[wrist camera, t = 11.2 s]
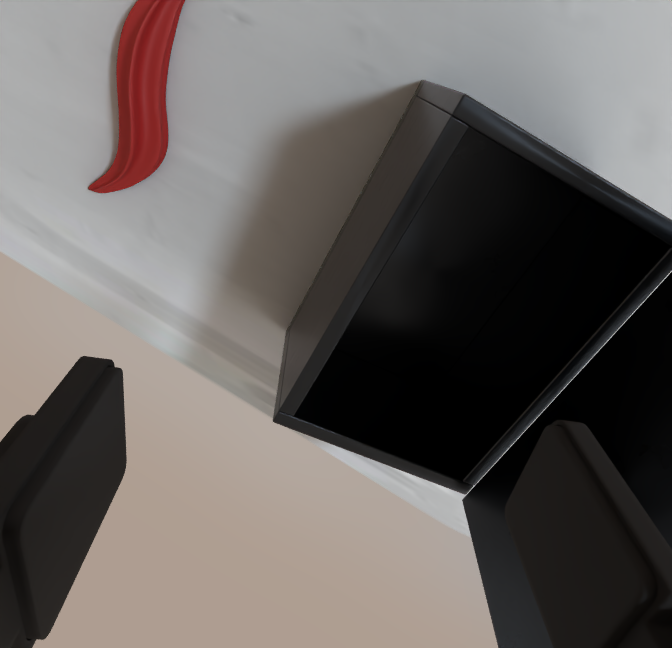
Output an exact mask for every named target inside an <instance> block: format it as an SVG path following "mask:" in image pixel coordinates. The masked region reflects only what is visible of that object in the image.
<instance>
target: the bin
mask: <svg viewBox="0 0 672 648" xmlns="http://www.w3.org/2000/svg"><path fill="white" fill-rule="evenodd" d="M671 270H672V220H671V219H669V218H667V217H666V216H664V215H662V214H661V213H659V212H658V211H656V210H654V209H653V208H651V207H649V206H648V205H646V204H644V203H643V202H641V201H640V200H638V199H636V198H635V197H633V196H631V195H630V194H628V193H627V192H625V191H623V190H622V189H620V188H618V187H617V186H615V185H613V184H612V183H610V182H609V181H607V180H605V179H604V178H602V177H600V176H599V175H597V174H595V173H594V172H592V171H591V170H589V169H587V168H586V167H584V166H582V165H581V164H579V163H578V162H576V161H574V160H573V159H571V158H569V157H568V156H566V155H564V154H563V153H561V152H560V151H558V150H556V149H555V148H553V147H551V146H550V145H548V144H546V143H545V142H543V141H542V140H540V139H538V138H537V137H535V136H533V135H532V134H530V133H529V132H527V131H525V130H524V129H522V128H520V127H519V126H517V125H515V124H514V123H512V122H511V121H509V120H507V119H506V118H504V117H502V116H501V115H499V114H497V113H496V112H494V111H493V110H491V109H489V108H488V107H486V106H484V105H483V104H481V103H480V102H478V101H476V100H475V99H473V98H471V97H470V96H468V95H466V94H464V93H461V92H458V91H455V90H452V89H449V88H446V87H443V86H440V85H437V84H434V83H431V82H429V81H426V80H422V81H421V83H420V85H419V87H418V88H417V90H416V92H415V94H414V96H413V98H412V100H411V101H410V103H409V105H408V107H407V109H406V111H405V113H404V114H403V116H402V118H401V120H400V122H399V124H398V126H397V127H396V129H395V131H394V133H393V135H392V137H391V138H390V140H389V142H388V144H387V146H386V148H385V150H384V151H383V153H382V155H381V157H380V159H379V161H378V163H377V164H376V166H375V168H374V170H373V172H372V174H371V176H370V177H369V179H368V181H367V183H366V185H365V187H364V188H363V190H362V192H361V194H360V196H359V198H358V200H357V201H356V203H355V205H354V207H353V209H352V211H351V213H350V214H349V216H348V218H347V220H346V222H345V224H344V226H343V227H342V229H341V231H340V233H339V235H338V237H337V238H336V240H335V242H334V244H333V246H332V248H331V250H330V251H329V253H328V255H327V257H326V259H325V261H324V263H323V264H322V266H321V268H320V270H319V272H318V274H317V276H316V277H315V279H314V281H313V283H312V285H311V287H310V288H309V290H308V292H307V294H306V296H305V298H304V300H303V301H302V303H301V305H300V307H299V309H298V311H297V313H296V314H295V316H294V318H293V320H292V322H291V324H290V326H289V327H288V329H287V331H286V336H285V343H284V350H283V356H282V363H281V370H280V376H279V383H278V390H277V396H276V403H275V410H274V416H273V422H275V423H277V424H280V425H282V426H285V427H288V428H290V429H293V430H296V431H298V432H301V433H303V434H306V435H309V436H311V437H314V438H317V439H319V440H322V441H325V442H327V443H330V444H333V445H335V446H338V447H341V448H343V449H346V450H348V451H351V452H354V453H356V454H359V455H362V456H364V457H367V458H370V459H372V460H375V461H378V462H380V463H383V464H386V465H388V466H391V467H393V468H396V469H399V470H401V471H404V472H407V473H409V474H412V475H415V476H417V477H420V478H423V479H425V480H428V481H430V482H433V483H436V484H438V485H441V486H444V487H446V488H449V489H452V490H454V491H457V492H460V493H462V494H467V493H468V492H469V490H470V489H471V488H472V487H473V485H475V484H476V483H477V482H478V481H479V480H480V479H481V478H482V476H483V475H484V474H485V473H486V472H487V471H488V470H489V469H490V468H491V467H492V466H493V464H494V463H495V462H496V461H497V460H498V459H499V458H500V457H501V456H502V455H503V454H504V452H505V451H506V450H507V449H508V448H509V447H510V446H511V445H512V444H513V443H514V442H515V440H516V439H517V438H518V437H519V436H520V435H521V434H522V433H523V432H524V431H525V430H526V428H527V427H528V426H529V425H530V424H531V423H532V422H533V421H534V420H535V419H536V418H537V417H538V415H539V414H540V413H541V412H542V411H543V410H544V409H545V408H546V407H547V406H548V405H549V403H550V402H551V401H552V400H553V399H554V398H555V397H556V396H557V395H558V394H559V393H560V391H561V390H562V389H563V388H564V387H565V386H566V385H567V384H568V383H569V382H570V381H571V379H572V378H573V377H574V376H575V375H576V374H577V373H578V372H579V371H580V370H581V369H582V367H583V366H584V365H585V364H586V363H587V362H588V361H589V360H590V359H591V358H592V357H593V355H594V354H595V353H596V352H597V351H598V350H599V349H600V348H601V347H602V346H603V345H604V343H605V342H606V341H607V340H608V339H609V338H610V337H611V336H612V335H613V334H614V333H615V331H616V330H617V329H618V328H619V327H620V326H621V325H622V324H623V323H624V322H625V321H626V320H627V318H628V317H629V316H630V315H631V314H632V313H633V312H634V311H635V310H636V309H637V308H638V306H639V305H640V304H641V303H642V302H643V301H644V300H645V299H646V298H647V297H648V296H649V294H650V293H651V292H652V291H653V290H654V289H655V288H656V287H657V286H658V285H659V284H660V282H661V281H662V280H663V279H664V278H665V277H666V276H667V275H668V274H669V273H670V272H671Z"/></svg>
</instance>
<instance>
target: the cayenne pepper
mask: <svg viewBox="0 0 672 648" xmlns="http://www.w3.org/2000/svg"><path fill="white" fill-rule="evenodd" d="M184 2H185V0H138V1H137V2H136V4H135V5H134V7H133V8H132V9H131V11H130V13H129V15H128V17H127V19H126V21H125V23H124V26H123V29H122V33H121V38H120V43H119V49H118V56H117V93H118V107H119V144H118V151H117V154H116V158H115V160H114V163H113V165H112V166H111V168H110V169H109V170H108V171H107V173H106V174H104V175H103V176H102V177H101V178H99V179H98V180H97V181H95V182H94V183H93V184H91V185H90V186H89V188H88V189H89V190H92V191H94V192H98V193H109V192H113V191H118V190H122V189H125V188H128V187H131V186H133V185H135V184H137V183H139V182H141V181H142V180H144V179H146V178H147V177H148V176H150V175H151V174H152V173H153V172H154V171H155V170H156V169H157V168H158V167H159V166H160V164H161V163H162V161H163V159H164V157H165V155H166V152H167V147H168V124H167V114H166V83H167V74H168V66H169V59H170V53H171V49H172V44H173V40H174V36H175V32H176V28H177V24H178V20H179V16H180V12H181V9H182V6H183V4H184Z"/></svg>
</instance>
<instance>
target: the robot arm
mask: <svg viewBox="0 0 672 648" xmlns="http://www.w3.org/2000/svg"><path fill="white" fill-rule="evenodd" d="M125 469H126V437H125V414H124V391H123V372H122V369H121V368H117V367H114V362H113V361H112V360H110V359H102V358H94V357H87V356H83V357H81V358H80V359H79V360H78V361H77V362H76V363H75V365H74V366H73V367H72V369H71V370H70V371H69V372H68V374H67V375H66V376H65V377H64V379H63V380H62V381H61V382H60V384H59V385H58V386H57V387H56V389H55V390H54V391H53V393H52V394H51V395H50V396H49V398H48V399H47V400H46V401H45V403H44V404H43V405H42V406H41V408H40V409H39V410H38V412H37V413H36V414H35V415H26V416H23V417H22V418H21V419H20V420H19V421H17V422H16V424H15V425H14V426H13V427H12V428H11V430H10V431H9V432H8V433H7V434H6V436H5V437H4V438H3V439H2V441H1V442H0V648H32V647H33V645H34V643H35V641H36V639H41V640H43V639H45V638H46V637H47V636H48V634H49V633H50V631H51V629H52V627H53V625H54V623H55V621H56V619H57V617H58V614H59V612H60V610H61V608H62V606H63V604H64V602H65V599H66V597H67V595H68V593H69V591H70V589H71V587H72V585H73V582H74V580H75V578H76V576H77V574H78V572H79V570H80V568H81V565H82V563H83V561H84V559H85V557H86V555H87V553H88V551H89V549H90V547H91V544H92V542H93V540H94V538H95V536H96V534H97V532H98V529H99V527H100V525H101V523H102V521H103V519H104V517H105V515H106V513H107V510H108V508H109V506H110V504H111V502H112V500H113V498H114V496H115V493H116V491H117V489H118V487H119V485H120V483H121V481H122V478H123V476H124V473H125ZM505 520H506V523H507V526H508V528H509V531H510V534H511V536H512V539H513V542H514V544H515V547H516V549H517V552H518V555H519V557H520V560H521V563H522V565H523V568H524V571H525V573H526V576H527V579H528V581H529V584H530V587H531V589H532V592H533V595H534V597H535V600H536V603H537V605H538V608H539V611H540V613H541V616H542V619H543V621H544V624H545V627H546V629H547V632H548V634H549V637H550V640H551V642H552V645H553V648H672V549H671V548H670V546H669V545H668V544H667V542H666V541H665V539H664V538H663V536H662V535H661V533H660V532H659V530H658V529H657V527H656V526H655V525H654V523H653V522H652V520H651V519H650V517H649V516H648V514H647V513H646V511H645V510H644V508H643V507H642V506H641V504H640V503H639V501H638V500H637V498H636V497H635V495H634V494H633V492H632V491H631V489H630V488H629V487H628V485H627V484H626V482H625V481H624V479H623V478H622V476H621V475H620V473H619V472H618V470H617V469H616V468H615V466H614V465H613V463H612V462H611V460H610V459H609V457H608V456H607V454H606V453H605V451H604V450H603V449H602V447H601V446H600V444H599V443H598V441H597V440H596V438H595V437H594V435H593V434H592V432H591V431H590V430H589V428H588V427H587V426H586V425H585V424H583V423H580V422H572V421H565V420H556V421H555V422H553V423H552V425H548V426H546V427H545V429H544V430H543V432H542V434H541V436H540V438H539V440H538V442H537V444H536V446H535V448H534V450H533V452H532V454H531V456H530V458H529V460H528V462H527V464H526V466H525V468H524V470H523V472H522V474H521V476H520V478H519V480H518V481H517V483H516V485H515V487H514V489H513V491H512V493H511V495H510V497H509V499H508V501H507V503H506V506H505Z"/></svg>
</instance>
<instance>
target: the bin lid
mask: <svg viewBox="0 0 672 648" xmlns="http://www.w3.org/2000/svg"><path fill="white" fill-rule="evenodd" d="M556 420H565V421H572V422H580V423H583V424H585V425H586V426H587V427H588V428H589V430H590V431H591V432H592V434H593V435H594V437H595V438H596V440H597V441H598V443H599V444H600V446H601V447H602V449H603V450H604V451H605V453H606V454H607V456H608V457H609V459H610V460H611V462H612V463H613V465H614V466H615V468H616V469H617V470H618V472H619V473H620V475H621V476H622V478H623V479H624V481H625V482H626V484H627V485H628V487H629V488H630V489H631V491H632V492H633V494H634V495H635V497H636V498H637V500H638V501H639V503H640V504H641V506H642V507H643V508H644V510H645V511H646V513H647V514H648V516H649V517H650V519H651V520H652V522H653V523H654V525H655V526H656V527H657V529H658V530H659V532H660V533H661V535H662V536H663V538H664V539H665V541H666V542H667V544H668V545H669V546H670V548H671V549H672V272H671V273H670V274H669V276H668V277H667V278H666V279H665V280H664V281H663V282H662V283H661V284H660V285H659V286H658V287H657V289H656V290H655V291H654V292H653V293H652V294H651V295H650V296H649V297H648V298H647V299H646V301H645V302H644V303H643V304H642V305H641V306H640V307H639V308H638V309H637V310H636V311H635V312H634V314H633V315H632V316H631V317H630V318H629V319H628V320H627V321H626V322H625V323H624V324H623V326H622V327H621V328H620V329H619V330H618V331H617V332H616V333H615V334H614V335H613V336H612V338H611V339H610V340H609V341H608V342H607V343H606V344H605V345H604V346H603V347H602V348H601V349H600V351H599V352H598V353H597V354H596V355H595V356H594V357H593V358H592V359H591V360H590V361H589V363H588V364H587V365H586V366H585V367H584V368H583V369H582V370H581V371H580V372H579V373H578V374H577V376H576V377H575V378H574V379H573V380H572V381H571V382H570V383H569V384H568V385H567V386H566V388H565V389H564V390H563V391H562V392H561V393H560V394H559V395H558V396H557V397H556V398H555V400H554V401H553V402H552V403H551V404H550V405H549V406H548V407H547V408H546V409H545V410H544V411H543V413H542V414H541V415H540V416H539V417H538V418H537V419H536V420H535V421H534V422H533V423H532V425H531V426H530V427H529V428H528V429H527V430H526V431H525V432H524V433H523V434H522V435H521V436H520V438H519V439H518V440H517V441H516V442H515V443H514V444H513V445H512V446H511V447H510V448H509V450H508V451H507V452H506V453H505V454H504V455H503V456H502V457H501V458H500V459H499V460H498V462H497V463H496V464H495V465H494V466H493V467H492V468H491V469H490V470H489V471H488V472H487V473H486V475H485V476H484V477H483V478H482V479H481V480H480V481H479V482H478V483H477V484H476V485H475V487H474V488H473V489H472V490H471V491H470V492H469V493H468V494H467V495H466V496H465V497H464V498H463V500H462V501H463V505H464V509H465V513H466V517H467V521H468V525H469V530H470V534H471V538H472V542H473V546H474V550H475V554H476V558H477V562H478V566H479V570H480V574H481V578H482V583H483V587H484V590H485V595H486V599H487V603H488V607H489V611H490V615H491V619H492V623H493V627H494V631H495V635H496V639H497V643H498V648H553V645H552V642H551V640H550V637H549V634H548V632H547V629H546V627H545V624H544V621H543V619H542V616H541V613H540V611H539V608H538V605H537V603H536V600H535V597H534V595H533V592H532V589H531V587H530V584H529V581H528V579H527V576H526V573H525V571H524V568H523V565H522V563H521V560H520V557H519V555H518V552H517V549H516V547H515V544H514V542H513V539H512V536H511V534H510V531H509V528H508V526H507V523H506V520H505V506H506V503H507V501H508V499H509V497H510V495H511V493H512V491H513V489H514V487H515V485H516V483H517V481H518V480H519V478H520V476H521V474H522V472H523V470H524V468H525V466H526V464H527V462H528V460H529V458H530V456H531V454H532V452H533V450H534V448H535V446H536V444H537V442H538V440H539V438H540V436H541V434H542V432H543V430H544V429H545V427H546V426H548V425H552V423H553V422H555V421H556Z"/></svg>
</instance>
